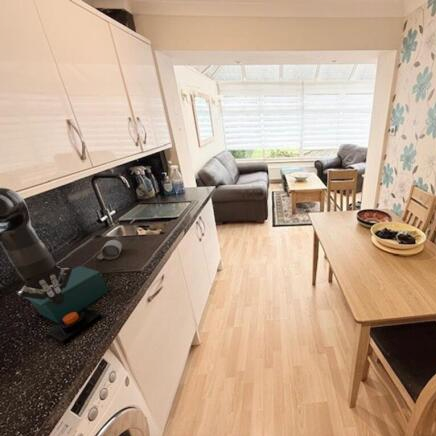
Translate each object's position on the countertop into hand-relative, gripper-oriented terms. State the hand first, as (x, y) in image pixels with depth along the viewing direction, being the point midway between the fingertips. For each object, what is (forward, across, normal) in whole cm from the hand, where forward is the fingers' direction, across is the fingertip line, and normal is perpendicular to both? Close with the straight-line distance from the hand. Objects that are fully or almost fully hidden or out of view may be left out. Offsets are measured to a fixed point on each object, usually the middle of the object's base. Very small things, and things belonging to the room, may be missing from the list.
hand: (59, 302), depth 75 cm
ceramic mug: (+11, -33, -33) cm, 48 cm away
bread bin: (+11, -7, -13) cm, 19 cm away
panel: (+11, 0, 0) cm, 11 cm away
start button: (+8, 0, 0) cm, 8 cm away
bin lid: (+2, -7, -13) cm, 15 cm away
